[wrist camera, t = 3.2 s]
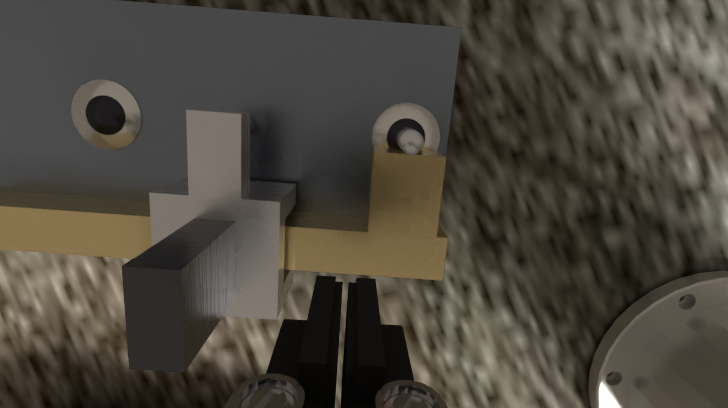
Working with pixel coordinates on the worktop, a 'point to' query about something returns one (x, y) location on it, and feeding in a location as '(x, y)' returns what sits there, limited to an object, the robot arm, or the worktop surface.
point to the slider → (207, 248)
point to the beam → (302, 230)
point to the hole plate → (212, 95)
